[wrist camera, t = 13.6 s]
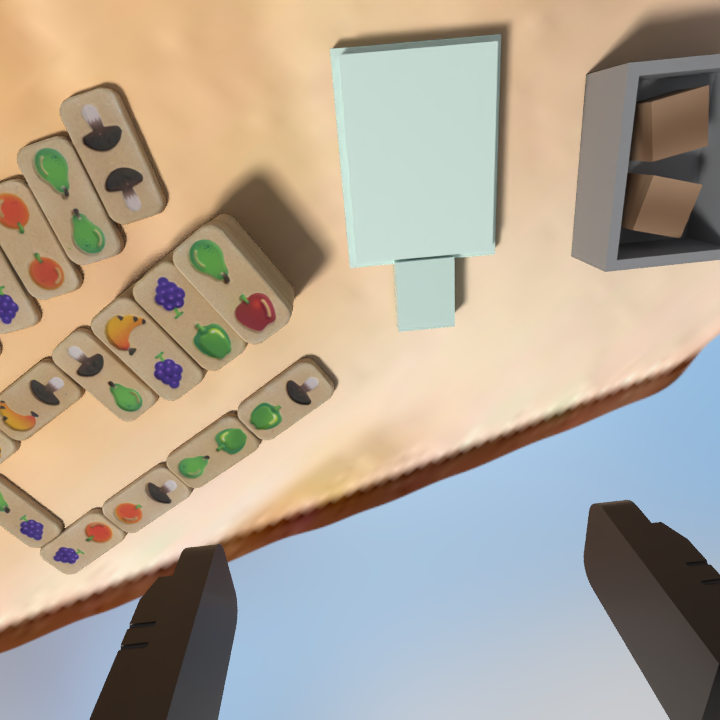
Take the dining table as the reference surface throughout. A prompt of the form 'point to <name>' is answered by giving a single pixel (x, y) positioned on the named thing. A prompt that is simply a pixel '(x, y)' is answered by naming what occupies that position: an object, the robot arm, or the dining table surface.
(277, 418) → the pile of dominoes
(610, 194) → the tub
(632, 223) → the walnut block
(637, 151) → the walnut block
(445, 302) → the lid
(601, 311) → the dining table surface
